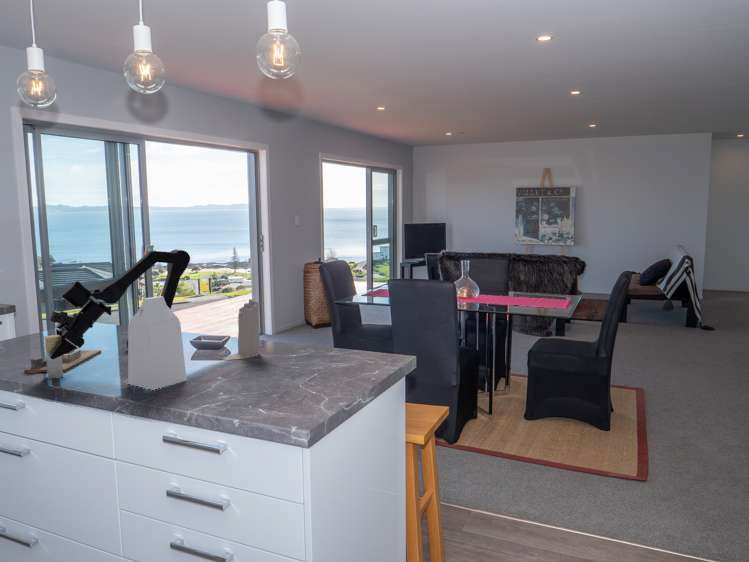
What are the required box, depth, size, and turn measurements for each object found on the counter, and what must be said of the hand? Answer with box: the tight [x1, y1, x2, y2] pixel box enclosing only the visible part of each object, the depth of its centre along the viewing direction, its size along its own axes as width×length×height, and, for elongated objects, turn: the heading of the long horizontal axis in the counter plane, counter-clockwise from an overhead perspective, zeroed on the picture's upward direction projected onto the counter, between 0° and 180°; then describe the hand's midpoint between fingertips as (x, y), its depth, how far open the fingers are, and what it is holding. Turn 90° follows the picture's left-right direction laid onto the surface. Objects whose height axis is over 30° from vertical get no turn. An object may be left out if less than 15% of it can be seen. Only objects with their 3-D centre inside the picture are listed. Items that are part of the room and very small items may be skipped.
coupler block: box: [43, 334, 64, 380], centre depth 177 cm, size 4×4×13 cm
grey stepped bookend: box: [221, 298, 261, 361], centre depth 202 cm, size 7×14×20 cm, turn 131°
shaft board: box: [23, 349, 102, 374], centre depth 196 cm, size 13×26×4 cm, turn 2°
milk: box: [127, 295, 187, 391], centre depth 171 cm, size 12×12×26 cm
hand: (49, 355), depth 177 cm, fingers open, 9 cm apart
